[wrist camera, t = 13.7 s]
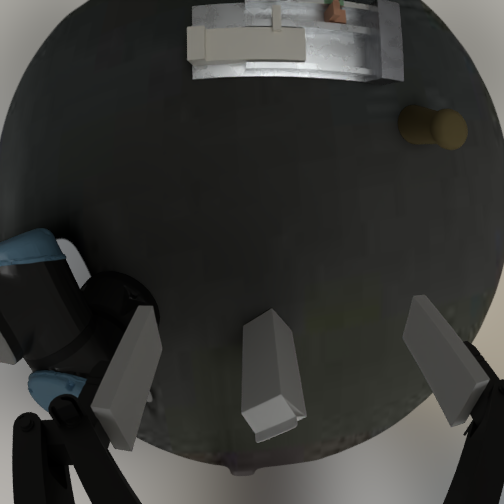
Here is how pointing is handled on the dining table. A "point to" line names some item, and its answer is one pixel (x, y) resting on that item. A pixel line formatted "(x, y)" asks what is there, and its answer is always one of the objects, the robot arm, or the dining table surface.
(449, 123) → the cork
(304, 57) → the plunger
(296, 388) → the milk
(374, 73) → the gauge housing
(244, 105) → the dining table surface
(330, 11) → the brown l-shaped block
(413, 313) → the robot arm
